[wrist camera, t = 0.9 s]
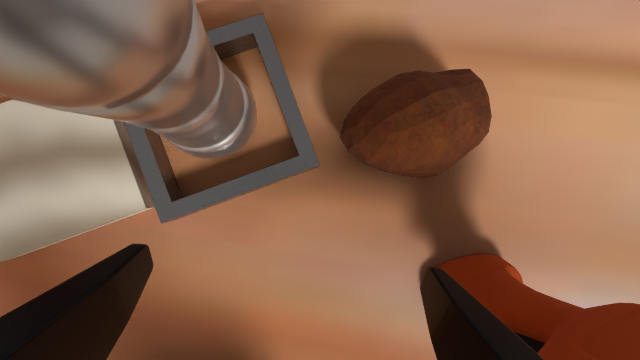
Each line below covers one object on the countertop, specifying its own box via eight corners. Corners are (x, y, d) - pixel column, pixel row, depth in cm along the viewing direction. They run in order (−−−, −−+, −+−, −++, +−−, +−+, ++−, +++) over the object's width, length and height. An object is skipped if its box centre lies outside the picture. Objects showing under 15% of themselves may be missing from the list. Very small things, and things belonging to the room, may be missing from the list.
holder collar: (318, 167, 22) (319, 164, 20) (174, 220, 21) (161, 223, 19) (266, 28, 22) (262, 13, 20) (120, 76, 21) (102, 64, 19)
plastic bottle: (165, 105, 22) (-1526, -904, 2) (241, 70, 22) (-342, -1040, 2) (201, 175, 22) (-1019, 41, 2) (276, 139, 22) (27, -307, 2)
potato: (477, 151, 23) (568, 132, 15) (357, 200, 22) (387, 207, 15) (445, 70, 23) (519, 9, 15) (324, 116, 22) (335, 78, 15)
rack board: (154, 207, 21) (145, 208, 20) (15, 257, 21) (-2, 262, 19) (107, 79, 21) (95, 72, 20) (-34, 125, 21) (-55, 121, 19)
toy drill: (289, 318, 20) (339, 638, 6) (489, 242, 24) (837, 314, 9) (306, 380, 20) (402, 865, 6) (504, 294, 24) (878, 449, 9)
